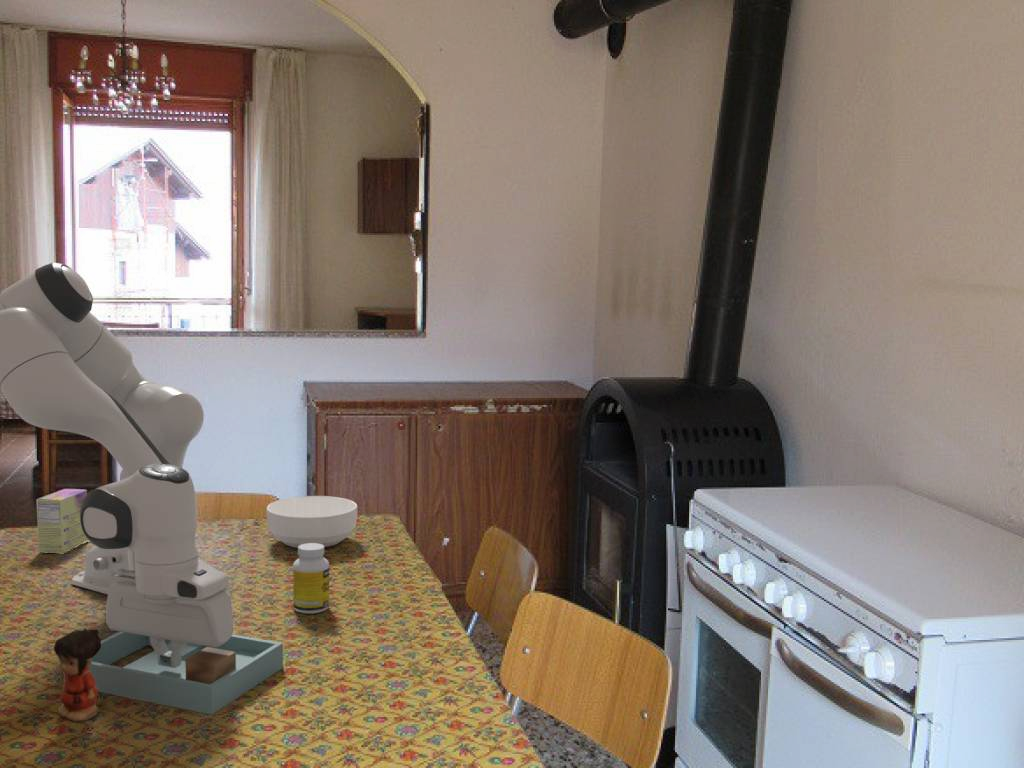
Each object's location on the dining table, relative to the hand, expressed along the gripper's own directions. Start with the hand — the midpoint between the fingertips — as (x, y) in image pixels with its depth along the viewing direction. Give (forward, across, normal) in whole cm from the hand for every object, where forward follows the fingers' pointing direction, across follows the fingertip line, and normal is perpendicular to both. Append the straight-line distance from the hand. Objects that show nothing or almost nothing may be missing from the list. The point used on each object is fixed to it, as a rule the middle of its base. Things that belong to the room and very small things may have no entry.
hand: (169, 665), depth 154 cm
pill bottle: (+3, +3, +37) cm, 37 cm away
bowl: (+4, -19, +74) cm, 76 cm away
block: (+1, +8, -1) cm, 8 cm away
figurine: (+3, -5, -13) cm, 14 cm away
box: (+4, -65, +50) cm, 82 cm away
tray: (+3, -1, +3) cm, 4 cm away
